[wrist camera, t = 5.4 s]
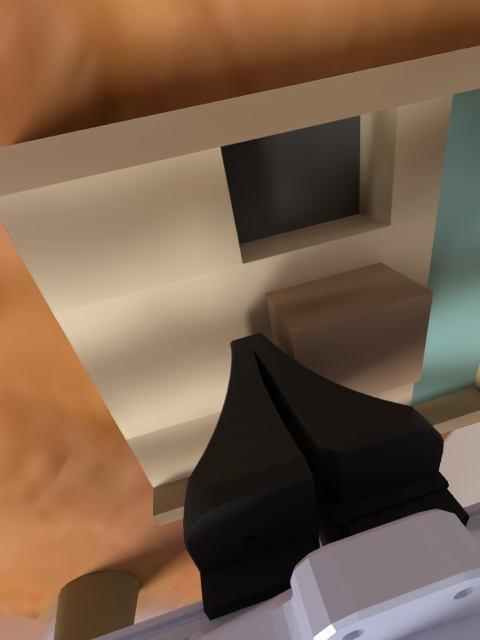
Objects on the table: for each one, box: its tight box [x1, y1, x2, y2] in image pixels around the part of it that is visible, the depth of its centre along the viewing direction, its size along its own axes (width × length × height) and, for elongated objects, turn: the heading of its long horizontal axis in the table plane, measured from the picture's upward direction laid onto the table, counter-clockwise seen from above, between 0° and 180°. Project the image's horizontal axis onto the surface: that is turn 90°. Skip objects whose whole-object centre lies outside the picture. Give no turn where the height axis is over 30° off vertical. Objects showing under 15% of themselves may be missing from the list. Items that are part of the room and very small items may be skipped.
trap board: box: [0, 46, 480, 526], centre depth 14 cm, size 17×20×4 cm
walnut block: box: [265, 262, 433, 396], centre depth 13 cm, size 4×5×3 cm
